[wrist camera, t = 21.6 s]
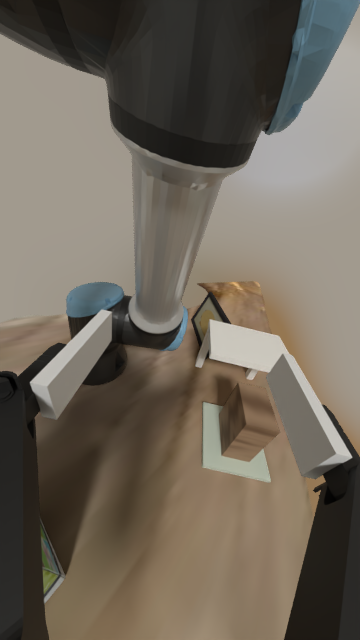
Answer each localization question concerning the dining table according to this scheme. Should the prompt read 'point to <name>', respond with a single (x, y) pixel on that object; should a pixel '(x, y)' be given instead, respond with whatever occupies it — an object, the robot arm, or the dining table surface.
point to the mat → (213, 450)
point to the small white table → (241, 347)
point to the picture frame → (207, 317)
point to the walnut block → (246, 422)
